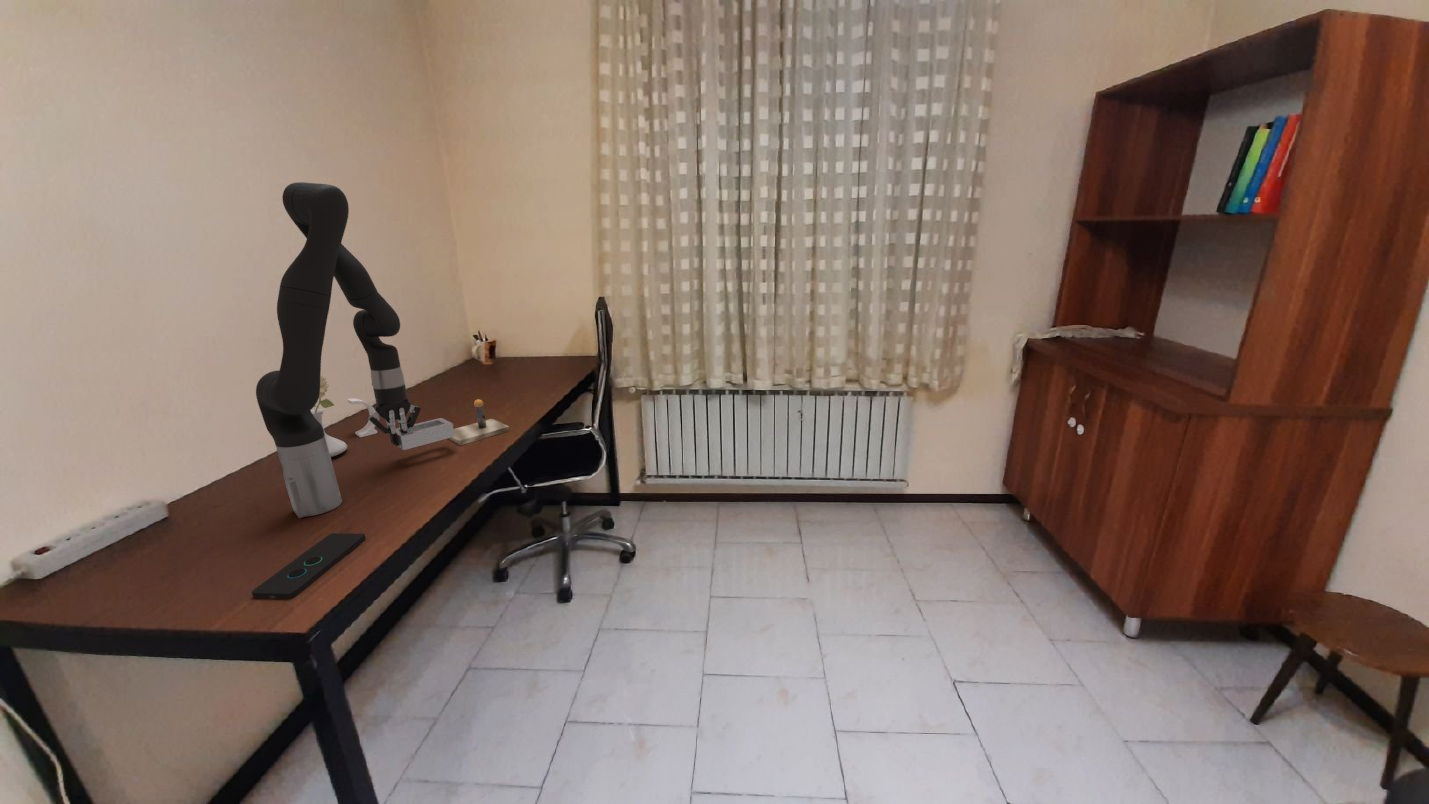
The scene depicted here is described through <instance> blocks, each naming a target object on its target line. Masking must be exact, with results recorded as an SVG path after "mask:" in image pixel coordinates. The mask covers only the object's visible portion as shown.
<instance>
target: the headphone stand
mask: <svg viewBox="0 0 1429 804" xmlns="http://www.w3.org/2000/svg"><path fill="white" fill-rule="evenodd" d="M346 399H347V402H348V403H349V404H352V405H357V404H358V405H362V406H363V405H364V407H366V409H367V411H368V412H369V413H368V416H371V415H373V414H374V413H375V412H376V408H374V407H373V406H372V405H371V404H370V403H367V402H366V401H364V400H362V399H359V398H346ZM375 427H376V426H375V425H374V424H373V423H372V422H370V421H369V420H368V421H367V423H366V425H364V427H363V428H361V429H359V430H357V431H355V433H354V434H355V436H357V437H359V438H364V437H367V436H371V435H375V434H378V430H377V429H375Z"/></svg>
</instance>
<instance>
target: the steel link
mask: <svg viewBox="0 0 1429 804" xmlns="http://www.w3.org/2000/svg"><path fill="white" fill-rule="evenodd" d="M454 429H455V428H454V424H453V422H450V421H449V420H448V419H445V418H443V417H440V418H439V417H437V418H434V419H431V420H427V421H422V422H418V423H415V424H414V426H413V427H410V428H409V429H408V430H407V433H406V434H404V433H402V432H400V431H399V430H400V427H398V428H396V433H397V437H398V442H399V446H397V447H398V448H399V449H401V450H402V451H407V450H409V449H412V448H416V447H417V448H418V447H420V446H425V445H428V444H429V445H430V444H432V443H436V442H439V441H442V440H447V439H448V438H451V437H454V436H455V434H454Z"/></svg>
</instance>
